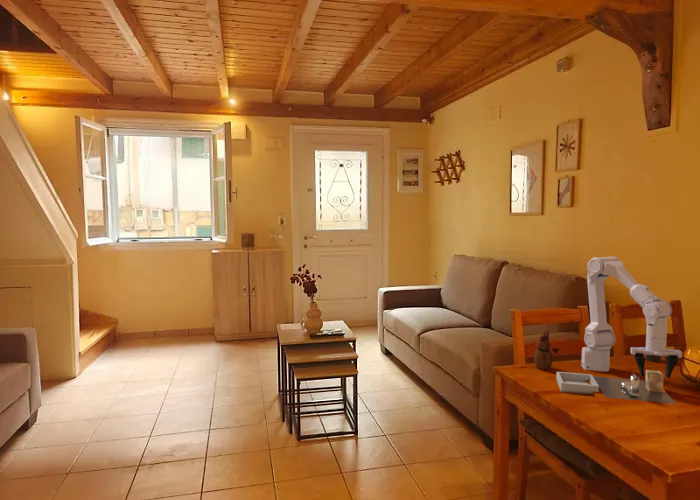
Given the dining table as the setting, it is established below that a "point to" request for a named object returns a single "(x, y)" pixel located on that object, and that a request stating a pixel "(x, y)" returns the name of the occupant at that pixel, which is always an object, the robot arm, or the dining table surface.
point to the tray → (576, 383)
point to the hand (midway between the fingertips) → (654, 376)
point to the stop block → (654, 381)
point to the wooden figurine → (543, 353)
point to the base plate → (615, 390)
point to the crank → (632, 385)
